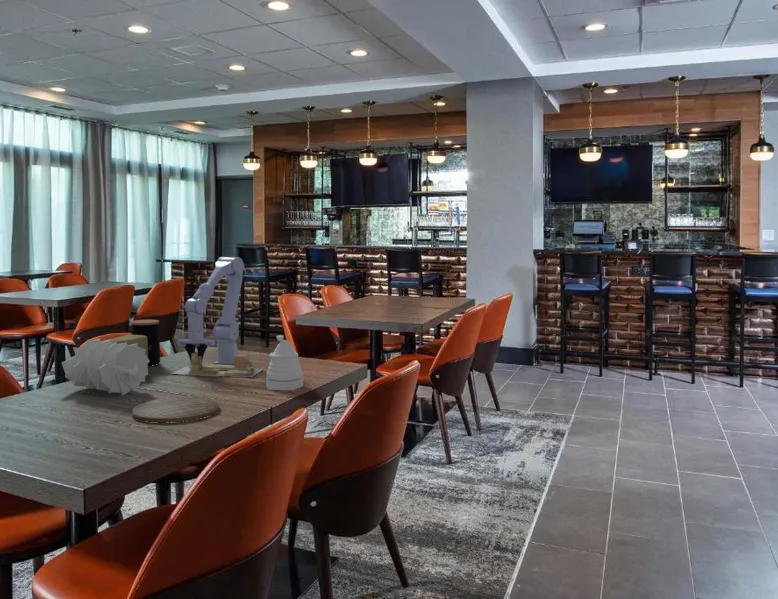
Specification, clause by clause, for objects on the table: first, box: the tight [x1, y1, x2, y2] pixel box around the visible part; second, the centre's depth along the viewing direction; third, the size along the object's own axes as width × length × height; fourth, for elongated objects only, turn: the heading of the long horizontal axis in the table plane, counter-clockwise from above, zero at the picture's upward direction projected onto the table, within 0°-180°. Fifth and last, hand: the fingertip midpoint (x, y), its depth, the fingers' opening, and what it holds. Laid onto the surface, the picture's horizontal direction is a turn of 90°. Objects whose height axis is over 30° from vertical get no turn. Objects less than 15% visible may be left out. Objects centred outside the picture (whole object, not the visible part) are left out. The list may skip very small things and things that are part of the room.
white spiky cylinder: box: [61, 338, 150, 396], centre depth 222 cm, size 18×18×25 cm
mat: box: [170, 365, 265, 378], centre depth 254 cm, size 14×32×1 cm, turn 83°
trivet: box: [131, 396, 220, 423], centre depth 198 cm, size 25×25×2 cm
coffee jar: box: [130, 319, 161, 367], centre depth 266 cm, size 11×11×18 cm
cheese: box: [100, 334, 149, 369], centre depth 242 cm, size 22×10×15 cm, turn 164°
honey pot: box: [265, 334, 304, 390], centre depth 231 cm, size 13×13×18 cm
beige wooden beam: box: [188, 351, 254, 370], centre depth 257 cm, size 5×24×6 cm, turn 83°
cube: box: [233, 353, 250, 368], centre depth 256 cm, size 4×4×4 cm
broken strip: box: [189, 356, 255, 376], centre depth 249 cm, size 5×24×6 cm, turn 83°
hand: (196, 363), depth 258 cm, fingers closed on beige wooden beam, 2 cm apart
